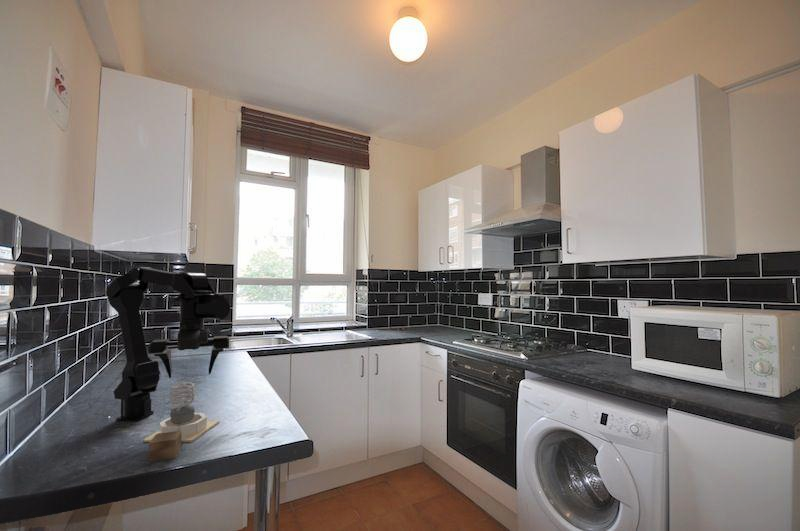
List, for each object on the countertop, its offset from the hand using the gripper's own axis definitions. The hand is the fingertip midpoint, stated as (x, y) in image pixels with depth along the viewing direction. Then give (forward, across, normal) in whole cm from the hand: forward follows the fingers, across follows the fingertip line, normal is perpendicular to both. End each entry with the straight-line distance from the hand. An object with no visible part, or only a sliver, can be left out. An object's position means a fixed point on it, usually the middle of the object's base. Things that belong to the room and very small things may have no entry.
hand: (190, 376), depth 98 cm
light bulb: (+12, -1, -6) cm, 14 cm away
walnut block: (+13, -3, -18) cm, 22 cm away
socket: (+13, -1, -6) cm, 14 cm away
